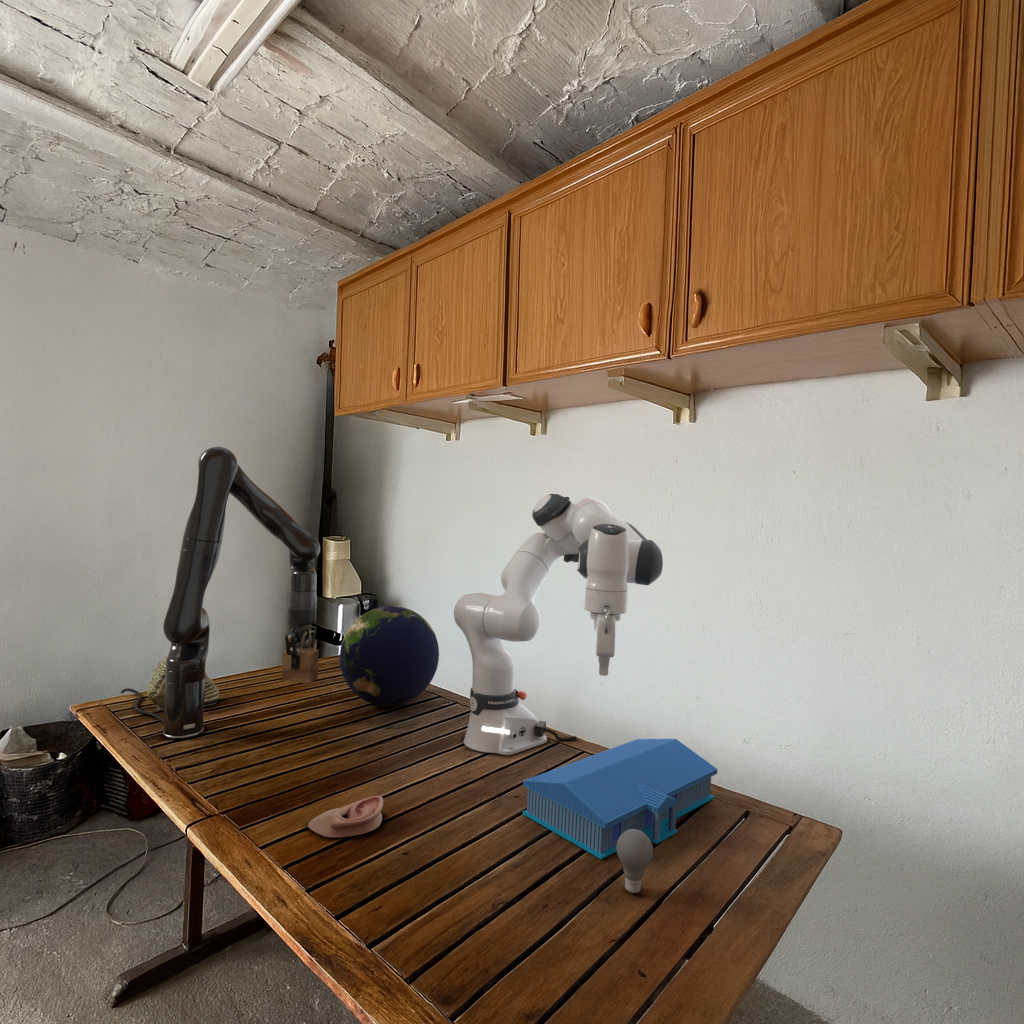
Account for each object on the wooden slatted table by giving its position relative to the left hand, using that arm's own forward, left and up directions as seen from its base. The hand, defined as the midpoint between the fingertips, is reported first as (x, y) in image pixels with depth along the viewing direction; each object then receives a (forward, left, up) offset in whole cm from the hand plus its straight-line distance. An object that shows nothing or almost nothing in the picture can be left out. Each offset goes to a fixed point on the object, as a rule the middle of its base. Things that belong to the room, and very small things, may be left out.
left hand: (300, 666), depth 177 cm
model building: (+90, +32, -15) cm, 96 cm away
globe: (+3, +28, -15) cm, 32 cm away
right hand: (+86, +26, +15) cm, 91 cm away
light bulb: (+107, +9, -15) cm, 109 cm away
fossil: (-30, -21, -15) cm, 40 cm away
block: (0, 0, -4) cm, 4 cm away
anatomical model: (+59, -17, -15) cm, 63 cm away
